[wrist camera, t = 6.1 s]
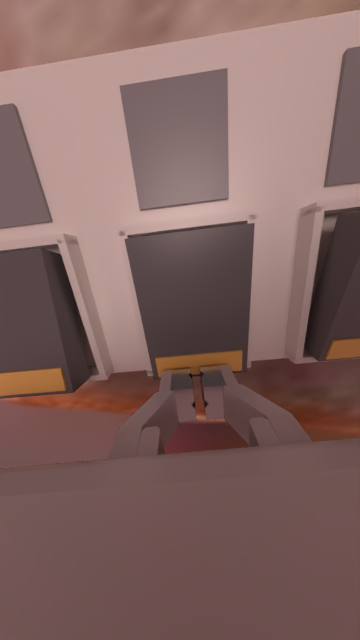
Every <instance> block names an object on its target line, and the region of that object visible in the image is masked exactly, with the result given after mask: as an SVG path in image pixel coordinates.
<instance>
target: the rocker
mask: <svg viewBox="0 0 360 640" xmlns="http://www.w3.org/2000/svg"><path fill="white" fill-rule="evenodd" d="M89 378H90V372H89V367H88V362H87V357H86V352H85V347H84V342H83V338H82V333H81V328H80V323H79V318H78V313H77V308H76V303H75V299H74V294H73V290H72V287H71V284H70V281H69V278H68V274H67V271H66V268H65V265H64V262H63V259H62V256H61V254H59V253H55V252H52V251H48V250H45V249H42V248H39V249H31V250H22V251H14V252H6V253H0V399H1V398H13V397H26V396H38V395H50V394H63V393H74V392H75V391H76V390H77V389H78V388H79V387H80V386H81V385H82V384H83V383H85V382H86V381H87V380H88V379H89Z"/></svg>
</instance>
